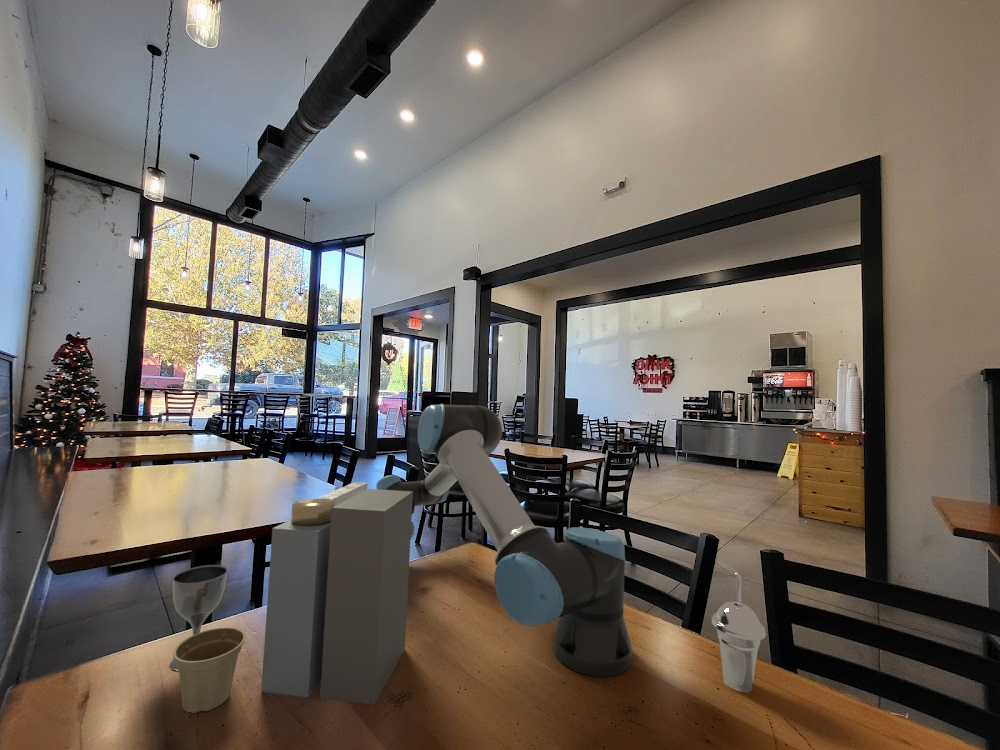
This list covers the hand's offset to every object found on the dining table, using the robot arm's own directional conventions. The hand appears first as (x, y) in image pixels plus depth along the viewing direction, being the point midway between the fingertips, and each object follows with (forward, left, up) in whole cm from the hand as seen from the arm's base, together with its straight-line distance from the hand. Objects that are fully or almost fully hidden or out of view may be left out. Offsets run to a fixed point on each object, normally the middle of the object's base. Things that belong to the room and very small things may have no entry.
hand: (363, 494), depth 97 cm
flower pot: (+11, +30, -26) cm, 42 cm away
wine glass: (+21, +21, -26) cm, 40 cm away
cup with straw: (-76, +12, -26) cm, 81 cm away
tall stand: (-11, +20, -26) cm, 34 cm away
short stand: (0, +20, -26) cm, 33 cm away
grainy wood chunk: (0, +14, 0) cm, 14 cm away
